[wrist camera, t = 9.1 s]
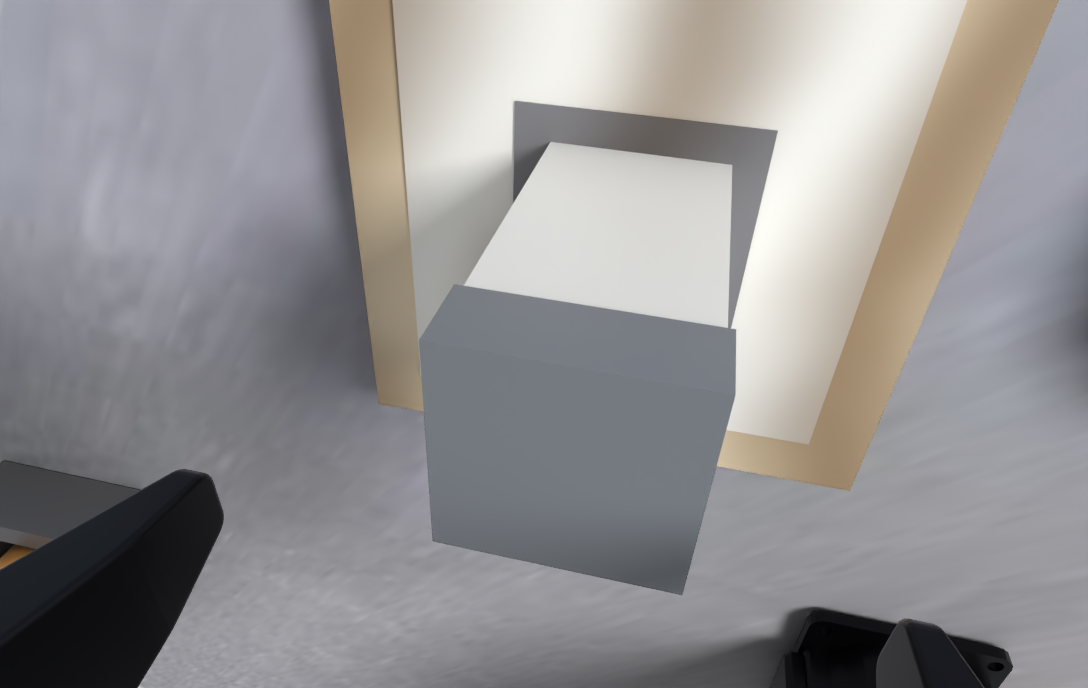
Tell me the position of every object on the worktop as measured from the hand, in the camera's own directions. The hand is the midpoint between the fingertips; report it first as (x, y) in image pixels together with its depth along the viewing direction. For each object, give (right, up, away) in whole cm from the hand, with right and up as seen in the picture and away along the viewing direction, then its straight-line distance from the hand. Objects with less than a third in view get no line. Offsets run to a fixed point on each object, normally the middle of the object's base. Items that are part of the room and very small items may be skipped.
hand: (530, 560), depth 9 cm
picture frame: (+2, +6, +9) cm, 11 cm away
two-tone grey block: (+2, +5, +8) cm, 10 cm away
